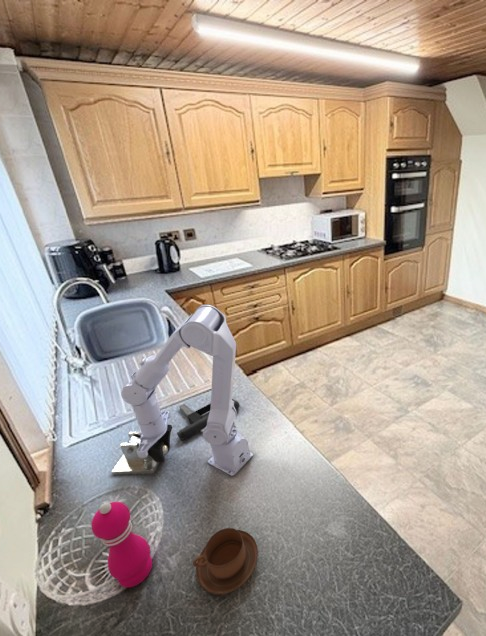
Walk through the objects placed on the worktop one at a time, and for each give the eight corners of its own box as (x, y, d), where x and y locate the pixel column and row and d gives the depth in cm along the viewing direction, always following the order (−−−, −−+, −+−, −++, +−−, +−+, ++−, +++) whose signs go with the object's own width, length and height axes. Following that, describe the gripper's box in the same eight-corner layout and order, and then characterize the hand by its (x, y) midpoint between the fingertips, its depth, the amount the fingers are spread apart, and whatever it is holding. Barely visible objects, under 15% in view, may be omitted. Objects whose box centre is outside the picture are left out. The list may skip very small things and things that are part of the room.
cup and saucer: (210, 614, 63) (203, 596, 60) (190, 559, 72) (183, 540, 69) (269, 570, 69) (265, 552, 66) (244, 524, 78) (240, 506, 75)
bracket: (168, 447, 100) (161, 425, 96) (153, 473, 92) (145, 450, 88) (130, 448, 100) (121, 426, 96) (112, 474, 92) (102, 451, 88)
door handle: (160, 413, 109) (181, 436, 98) (218, 384, 122) (242, 402, 111) (163, 421, 111) (184, 445, 100) (219, 392, 123) (244, 411, 112)
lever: (168, 450, 96) (170, 442, 95) (163, 459, 93) (165, 451, 92) (132, 441, 95) (133, 433, 93) (125, 450, 92) (127, 442, 91)
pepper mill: (145, 544, 75) (116, 480, 66) (161, 567, 71) (133, 501, 62) (109, 573, 70) (73, 508, 61) (125, 599, 66) (88, 533, 57)
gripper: (147, 399, 95) (160, 436, 101) (118, 438, 82) (134, 478, 88) (172, 398, 95) (184, 435, 101) (147, 437, 82) (162, 477, 88)
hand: (162, 455), depth 95 cm, fingers closed on lever, 3 cm apart
